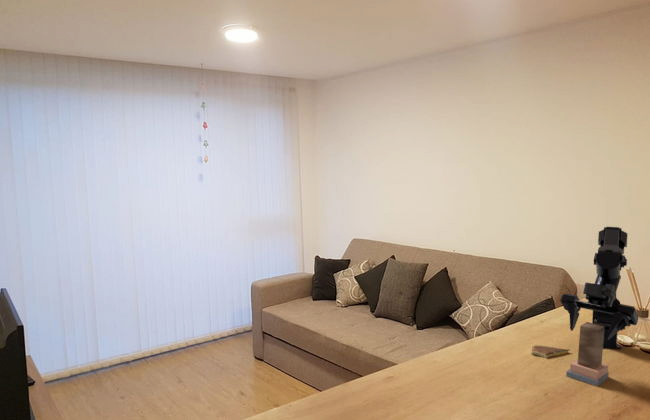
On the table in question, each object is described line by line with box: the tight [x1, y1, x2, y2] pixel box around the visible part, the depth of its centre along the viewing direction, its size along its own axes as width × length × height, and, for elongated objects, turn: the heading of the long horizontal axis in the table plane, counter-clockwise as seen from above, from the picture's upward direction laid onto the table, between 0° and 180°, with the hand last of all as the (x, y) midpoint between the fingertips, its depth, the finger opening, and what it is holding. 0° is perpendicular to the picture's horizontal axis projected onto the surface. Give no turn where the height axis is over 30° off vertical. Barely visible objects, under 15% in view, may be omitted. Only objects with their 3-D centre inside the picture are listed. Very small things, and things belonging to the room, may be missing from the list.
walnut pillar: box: [577, 321, 605, 369], centre depth 130 cm, size 4×4×11 cm
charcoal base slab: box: [565, 368, 610, 387], centre depth 131 cm, size 8×8×2 cm
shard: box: [531, 344, 570, 359], centre depth 147 cm, size 11×8×2 cm
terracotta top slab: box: [569, 359, 609, 380], centre depth 131 cm, size 7×7×2 cm
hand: (588, 334), depth 130 cm, fingers open, 9 cm apart
